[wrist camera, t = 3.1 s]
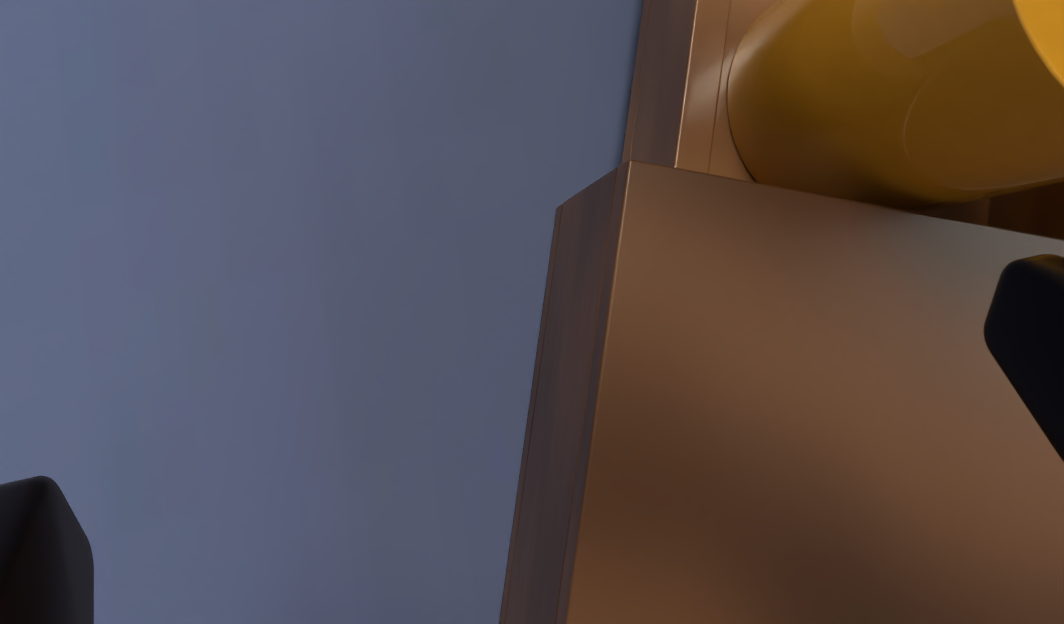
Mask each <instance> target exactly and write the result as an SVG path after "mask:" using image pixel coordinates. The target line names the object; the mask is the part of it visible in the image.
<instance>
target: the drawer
mask: <svg viewBox="0 0 1064 624" xmlns="http://www.w3.org/2000/svg"><path fill="white" fill-rule="evenodd" d="M775 1H777V0H644V1H643V9H642V16H641V23H640V31H639V38H638V45H637V53H636V60H635V68H634V75H633V82H632V90H631V97H630V105H629V112H628V119H627V127H626V134H625V142H624V149H623V156H622V164H623V163H625V162H626V161H628V160H631V159H632V160H637V161H643V162H648V163H653V164H659V165H664V166H670V167H675V168H680V169H686V170H691V171H697V172H702V173H707V174H713V175H718V176H724V177H729V178H734V179H740V180H745V181H751V182H756V181H755V179H754V178H753V177H752V175H751V174H750V173H749V171H748V170H747V168H746V166H745V164H744V162H743V161H742V159H741V157H740V155H739V152H738V150H737V147H736V145H735V142H734V139H733V135H732V132H731V128H730V123H729V116H728V108H727V91H728V81H729V74H730V70H731V66H732V62H733V59H734V56H735V54H736V51H737V48H738V46H739V44H740V42H741V40H742V39H743V37H744V35H745V33H746V32H747V30H748V29H749V28H750V26H751V25H752V23H753V22H754V21H755V20H756V19H757V18H758V17H759V16H760V15H761V13H762V12H763V11H764V10H765V9H767V8H768V7H769V6H770V5H772V4H773V3H774V2H775ZM622 164H621V165H622ZM756 183H757V182H756ZM923 213H924V214H929V215H934V216H940V217H945V218H951V219H956V220H961V221H967V222H972V223H978V224H983V225H988V226H994V227H999V228H1005V229H1010V230H1015V231H1021V232H1026V233H1032V234H1037V235H1042V236H1048V237H1053V238H1059V239H1064V182H1063V183H1059V184H1054V185H1049V186H1044V187H1040V188H1035V189H1030V190H1026V191H1021V192H1016V193H1012V194H1007V195H1002V196H998V197H993V198H988V199H984V200H979V201H974V202H970V203H965V204H960V205H956V206H951V207H946V208H942V209H937V210H932V211H928V212H923Z"/></svg>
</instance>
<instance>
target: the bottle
mask: <svg viewBox="0 0 1064 624" xmlns="http://www.w3.org/2000/svg"><path fill="white" fill-rule="evenodd" d="M727 108H728V116H729V123H730V128H731V132H732V135H733V139H734V142H735V145H736V147H737V150H738V152H739V155H740V157H741V159H742V161H743V162H744V164H745V166H746V168H747V170H748V171H749V173H750V174H751V175H752V177H753V178H754V179H755V181H756V182H757V183H761V184H767V185H772V186H778V187H783V188H789V189H794V190H799V191H805V192H810V193H816V194H821V195H826V196H832V197H837V198H843V199H848V200H853V201H859V202H864V203H870V204H875V205H880V206H886V207H891V208H897V209H902V210H907V211H913V212H918V213H923V212H928V211H932V210H937V209H942V208H946V207H951V206H956V205H960V204H965V203H970V202H974V201H979V200H984V199H988V198H993V197H998V196H1002V195H1007V194H1012V193H1016V192H1021V191H1026V190H1030V189H1035V188H1040V187H1044V186H1049V185H1054V184H1059V183H1063V182H1064V0H777V1H775V2H774V3H773V4H772V5H770V6H769V7H768V8H767V9H765V10H764V11H763V12H762V13H761V15H760V16H759V17H758V18H757V19H756V20H755V21H754V22H753V23H752V25H751V26H750V28H749V29H748V30H747V32H746V33H745V35H744V37H743V39H742V40H741V42H740V44H739V46H738V48H737V51H736V54H735V56H734V59H733V62H732V66H731V70H730V74H729V81H728V91H727Z"/></svg>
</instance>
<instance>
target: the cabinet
mask: <svg viewBox="0 0 1064 624" xmlns="http://www.w3.org/2000/svg"><path fill="white" fill-rule="evenodd" d="M1040 254H1054V255H1058V256H1062V257H1064V239H1059V238H1053V237H1048V236H1042V235H1037V234H1032V233H1026V232H1021V231H1015V230H1010V229H1005V228H999V227H994V226H988V225H983V224H978V223H972V222H967V221H961V220H956V219H951V218H945V217H940V216H934V215H929V214H924V213H918V212H913V211H907V210H902V209H897V208H891V207H886V206H880V205H875V204H870V203H864V202H859V201H853V200H848V199H843V198H837V197H832V196H826V195H821V194H816V193H810V192H805V191H799V190H794V189H789V188H783V187H778V186H772V185H767V184H761V183H756V182H751V181H745V180H740V179H734V178H729V177H724V176H718V175H713V174H707V173H702V172H697V171H691V170H686V169H680V168H675V167H670V166H664V165H659V164H653V163H648V162H643V161H637V160H632V159H631V160H628V161H626V162H625V163H623V164H622V165H620V166H619V167H617V168H615V169H614V170H612V171H611V172H609V173H608V174H606V175H605V176H603V177H602V178H600V179H599V180H597V181H596V182H594V183H593V184H591V185H590V186H588V187H586V188H585V189H583V190H582V191H580V192H579V193H577V194H576V195H574V196H573V197H571V198H570V199H568V200H567V201H565V202H564V203H563V204H562V205H560V206H558V208H557V210H556V217H555V224H554V231H553V238H552V246H551V253H550V260H549V267H548V275H547V282H546V289H545V296H544V303H543V311H542V318H541V325H540V332H539V339H538V347H537V354H536V361H535V368H534V376H533V383H532V390H531V397H530V404H529V412H528V419H527V426H526V433H525V440H524V448H523V455H522V462H521V469H520V477H519V484H518V491H517V498H516V505H515V513H514V520H513V527H512V534H511V541H510V549H509V556H508V563H507V570H506V578H505V585H504V592H503V599H502V606H501V614H500V621H499V624H1064V462H1063V461H1062V459H1061V458H1060V456H1059V455H1058V454H1057V452H1056V451H1055V449H1054V448H1053V446H1052V445H1051V443H1050V442H1049V440H1048V439H1047V437H1046V436H1045V434H1044V433H1043V431H1042V430H1041V428H1040V427H1039V425H1038V424H1037V422H1036V421H1035V419H1034V418H1033V416H1032V415H1031V413H1030V412H1029V410H1028V409H1027V407H1026V406H1025V404H1024V403H1023V401H1022V400H1021V398H1020V397H1019V395H1018V394H1017V392H1016V391H1015V389H1014V388H1013V386H1012V385H1011V383H1010V382H1009V380H1008V379H1007V377H1006V376H1005V374H1004V373H1003V371H1002V370H1001V368H1000V367H999V365H998V364H997V362H996V361H995V359H994V358H993V356H992V355H991V353H990V351H989V350H988V348H987V346H986V343H985V340H984V334H983V329H984V323H985V319H986V316H987V313H988V310H989V307H990V304H991V301H992V298H993V295H994V292H995V289H996V286H997V283H998V280H999V277H1000V275H1001V272H1002V270H1003V269H1004V268H1005V267H1006V266H1007V265H1008V263H1010V262H1012V261H1014V260H1018V259H1022V258H1027V257H1031V256H1036V255H1040Z"/></svg>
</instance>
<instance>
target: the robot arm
mask: <svg viewBox="0 0 1064 624" xmlns="http://www.w3.org/2000/svg"><path fill="white" fill-rule="evenodd" d="M983 334H984V340H985V343H986V346H987V348H988V350H989V351H990V353H991V355H992V356H993V358H994V359H995V361H996V362H997V364H998V365H999V367H1000V368H1001V370H1002V371H1003V373H1004V374H1005V376H1006V377H1007V379H1008V380H1009V382H1010V383H1011V385H1012V386H1013V388H1014V389H1015V391H1016V392H1017V394H1018V395H1019V397H1020V398H1021V400H1022V401H1023V403H1024V404H1025V406H1026V407H1027V409H1028V410H1029V412H1030V413H1031V415H1032V416H1033V418H1034V419H1035V421H1036V422H1037V424H1038V425H1039V427H1040V428H1041V430H1042V431H1043V433H1044V434H1045V436H1046V437H1047V439H1048V440H1049V442H1050V443H1051V445H1052V446H1053V448H1054V449H1055V451H1056V452H1057V454H1058V455H1059V456H1060V458H1061V459H1062V461H1063V462H1064V257H1062V256H1058V255H1054V254H1040V255H1036V256H1031V257H1027V258H1022V259H1018V260H1014V261H1012V262H1010V263H1008V265H1007V266H1006V267H1005V268H1004V269H1003V270H1002V272H1001V275H1000V277H999V280H998V283H997V286H996V289H995V292H994V295H993V298H992V301H991V304H990V307H989V310H988V313H987V316H986V319H985V323H984V329H983ZM0 624H94V566H93V556H92V551H91V547H90V544H89V541H88V538H87V536H86V534H85V533H84V531H83V529H82V527H81V525H80V524H79V522H78V520H77V518H76V517H75V515H74V513H73V511H72V509H71V508H70V506H69V504H68V502H67V500H66V499H65V497H64V495H63V493H62V491H61V490H60V488H59V486H58V485H57V484H56V482H55V481H53V480H52V479H51V478H49V477H46V476H37V477H32V478H28V479H23V480H19V481H14V482H9V483H5V484H1V485H0Z"/></svg>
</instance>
